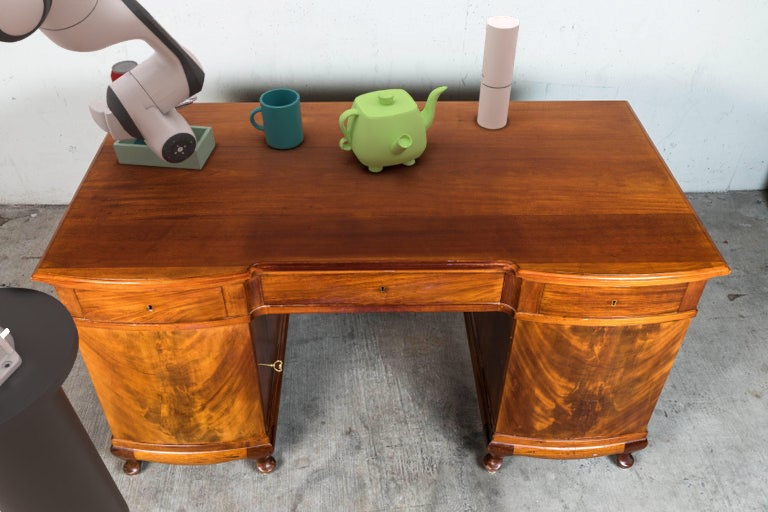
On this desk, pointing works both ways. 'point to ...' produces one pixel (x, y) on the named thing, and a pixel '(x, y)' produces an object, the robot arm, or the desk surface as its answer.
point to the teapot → (387, 127)
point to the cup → (280, 118)
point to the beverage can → (122, 69)
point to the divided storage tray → (143, 155)
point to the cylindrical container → (497, 71)
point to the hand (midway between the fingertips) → (130, 88)
